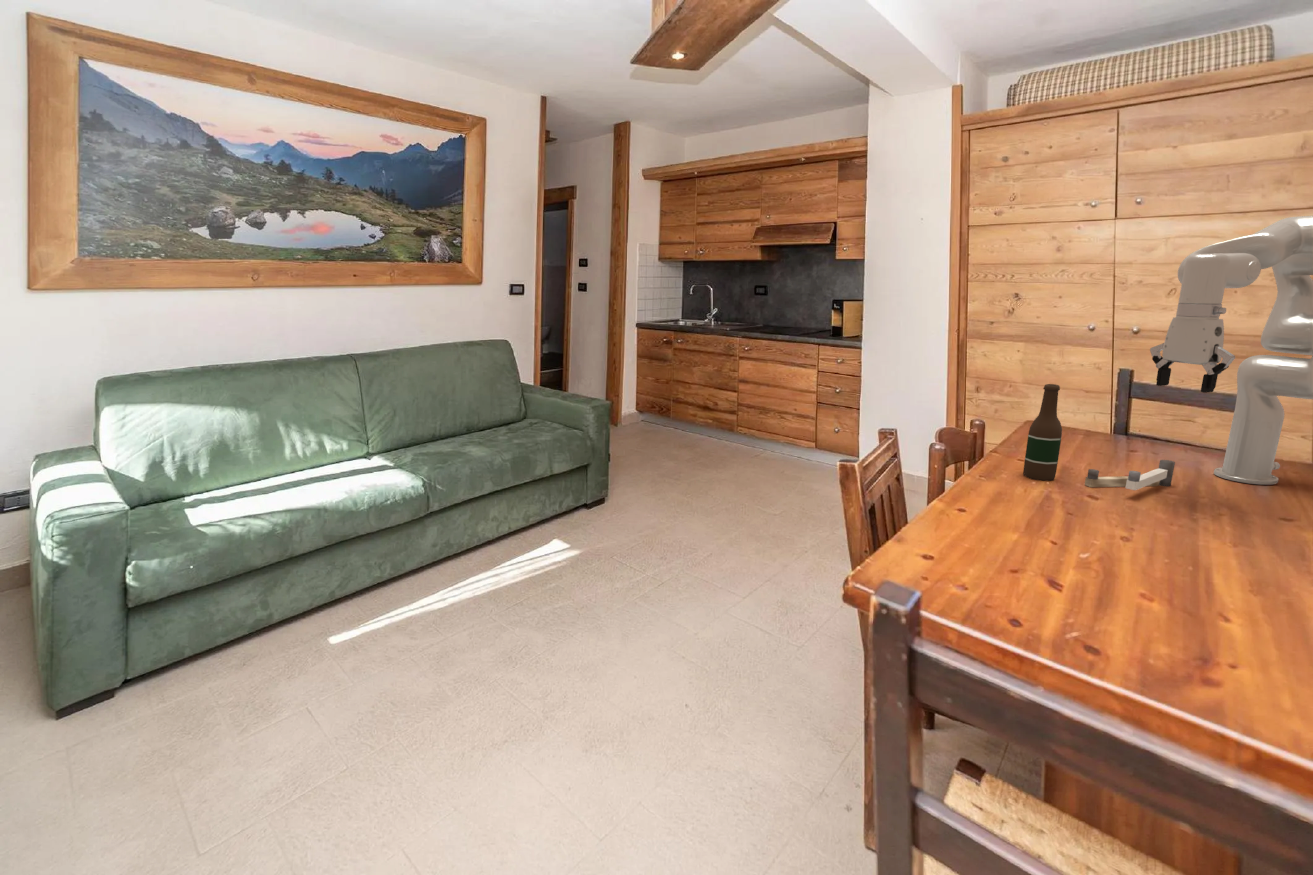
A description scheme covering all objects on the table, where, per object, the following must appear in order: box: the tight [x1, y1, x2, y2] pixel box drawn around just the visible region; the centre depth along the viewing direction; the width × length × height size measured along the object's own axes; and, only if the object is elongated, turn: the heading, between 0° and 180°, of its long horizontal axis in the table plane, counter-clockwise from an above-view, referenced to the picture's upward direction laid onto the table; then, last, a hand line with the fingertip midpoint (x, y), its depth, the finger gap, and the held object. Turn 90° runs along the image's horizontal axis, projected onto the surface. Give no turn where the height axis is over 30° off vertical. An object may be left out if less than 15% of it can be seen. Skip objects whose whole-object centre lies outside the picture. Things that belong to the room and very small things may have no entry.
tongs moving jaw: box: [1125, 467, 1168, 491], centre depth 160 cm, size 18×2×4 cm, turn 124°
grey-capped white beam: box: [1084, 459, 1176, 488], centre depth 166 cm, size 22×3×6 cm, turn 95°
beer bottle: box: [1022, 383, 1063, 482], centre depth 170 cm, size 8×8×24 cm
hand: (1183, 388), depth 152 cm, fingers open, 9 cm apart
